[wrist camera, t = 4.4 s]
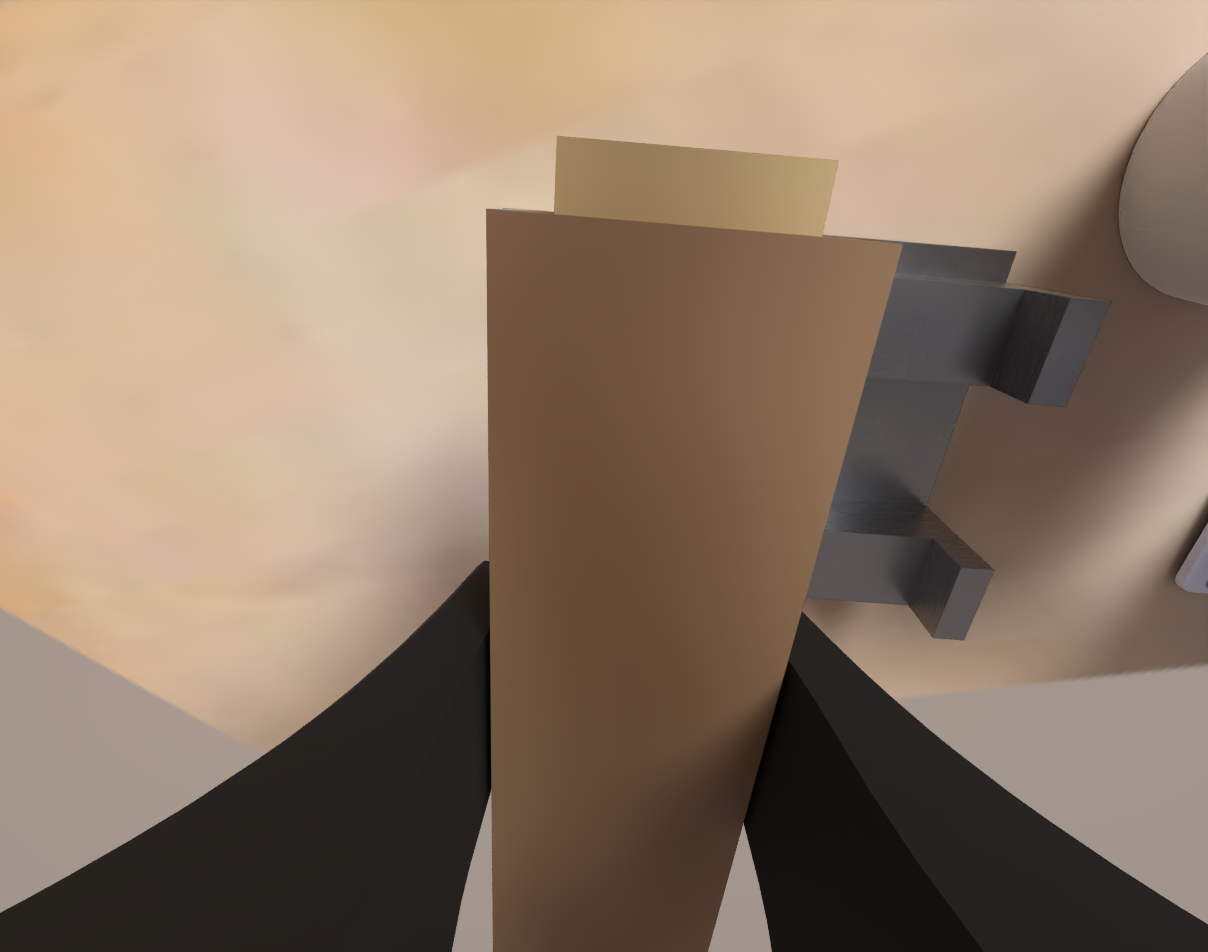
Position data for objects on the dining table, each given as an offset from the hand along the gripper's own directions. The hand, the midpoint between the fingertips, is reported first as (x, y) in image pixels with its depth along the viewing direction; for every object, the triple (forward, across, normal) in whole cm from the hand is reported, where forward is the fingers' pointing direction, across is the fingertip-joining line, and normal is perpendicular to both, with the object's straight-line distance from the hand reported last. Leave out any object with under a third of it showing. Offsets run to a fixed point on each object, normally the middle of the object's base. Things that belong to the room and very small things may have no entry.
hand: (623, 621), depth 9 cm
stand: (+10, -7, 0) cm, 12 cm away
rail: (+1, 0, 0) cm, 1 cm away
